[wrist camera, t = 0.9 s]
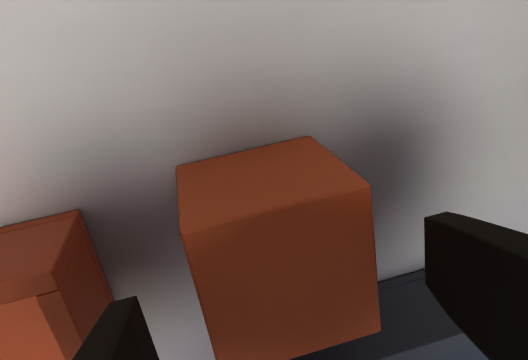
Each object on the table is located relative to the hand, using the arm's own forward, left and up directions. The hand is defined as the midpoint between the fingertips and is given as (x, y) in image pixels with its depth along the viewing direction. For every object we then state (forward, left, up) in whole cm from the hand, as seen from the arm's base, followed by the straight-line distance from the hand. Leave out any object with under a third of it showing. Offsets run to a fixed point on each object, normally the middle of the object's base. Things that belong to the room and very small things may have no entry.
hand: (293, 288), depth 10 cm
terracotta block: (0, 0, -5) cm, 5 cm away
